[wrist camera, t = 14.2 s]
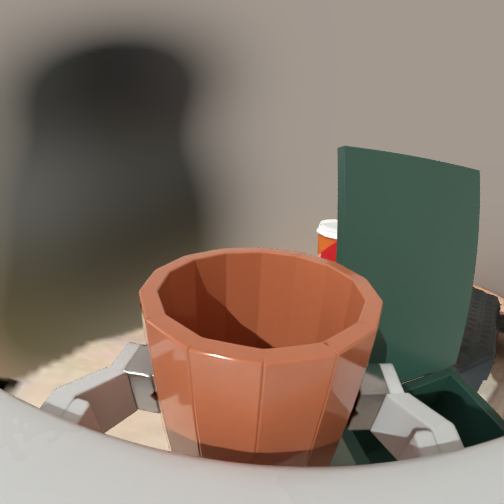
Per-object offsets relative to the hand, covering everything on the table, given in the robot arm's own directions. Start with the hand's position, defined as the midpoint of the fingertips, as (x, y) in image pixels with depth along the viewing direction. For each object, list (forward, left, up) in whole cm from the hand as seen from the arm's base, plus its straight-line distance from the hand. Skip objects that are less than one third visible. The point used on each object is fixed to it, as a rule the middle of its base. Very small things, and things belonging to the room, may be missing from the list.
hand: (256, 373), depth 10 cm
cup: (-1, 0, -5) cm, 5 cm away
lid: (+6, -13, 0) cm, 14 cm away
